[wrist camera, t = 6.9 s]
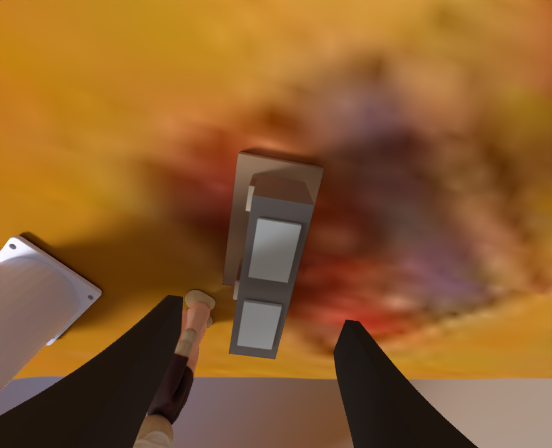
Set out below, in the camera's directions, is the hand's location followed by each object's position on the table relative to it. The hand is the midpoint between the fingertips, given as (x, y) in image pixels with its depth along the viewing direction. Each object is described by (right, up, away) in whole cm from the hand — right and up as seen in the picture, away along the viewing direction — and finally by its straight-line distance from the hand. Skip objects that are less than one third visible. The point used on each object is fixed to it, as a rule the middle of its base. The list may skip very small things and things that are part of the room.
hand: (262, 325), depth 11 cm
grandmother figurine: (-7, -4, +13) cm, 15 cm away
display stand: (0, +4, +9) cm, 10 cm away
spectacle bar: (0, +3, +6) cm, 6 cm away
